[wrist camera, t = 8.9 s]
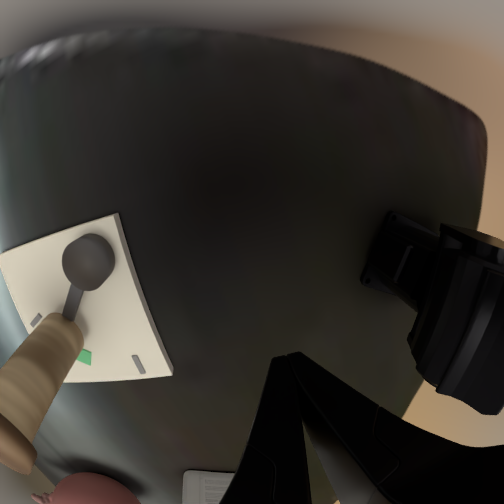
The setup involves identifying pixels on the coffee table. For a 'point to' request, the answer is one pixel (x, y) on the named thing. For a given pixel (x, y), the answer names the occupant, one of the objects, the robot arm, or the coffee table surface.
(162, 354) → the dial board
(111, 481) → the balloon
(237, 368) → the coffee table surface
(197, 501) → the photo printer
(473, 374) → the robot arm
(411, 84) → the coffee table surface
